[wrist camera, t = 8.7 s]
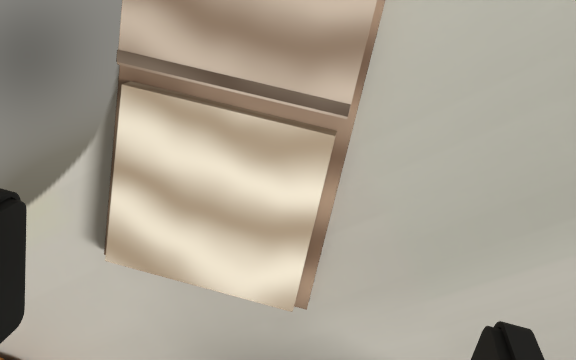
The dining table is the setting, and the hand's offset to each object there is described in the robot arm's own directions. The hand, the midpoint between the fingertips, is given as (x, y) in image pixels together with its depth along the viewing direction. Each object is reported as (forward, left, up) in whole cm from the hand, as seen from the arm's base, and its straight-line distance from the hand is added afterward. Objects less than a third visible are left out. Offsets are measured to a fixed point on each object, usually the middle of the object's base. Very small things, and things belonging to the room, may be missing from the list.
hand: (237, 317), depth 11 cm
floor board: (+5, -7, -28) cm, 30 cm away
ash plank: (+10, -7, -27) cm, 30 cm away
